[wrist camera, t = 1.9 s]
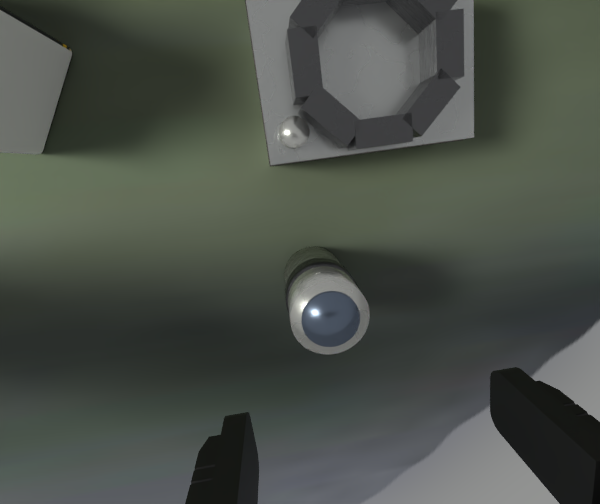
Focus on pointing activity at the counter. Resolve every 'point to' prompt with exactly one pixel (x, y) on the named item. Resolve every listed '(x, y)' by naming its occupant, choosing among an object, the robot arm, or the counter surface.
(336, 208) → the counter surface
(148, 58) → the counter surface
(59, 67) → the medicine bottle
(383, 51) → the octagon ring plate
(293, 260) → the lens
